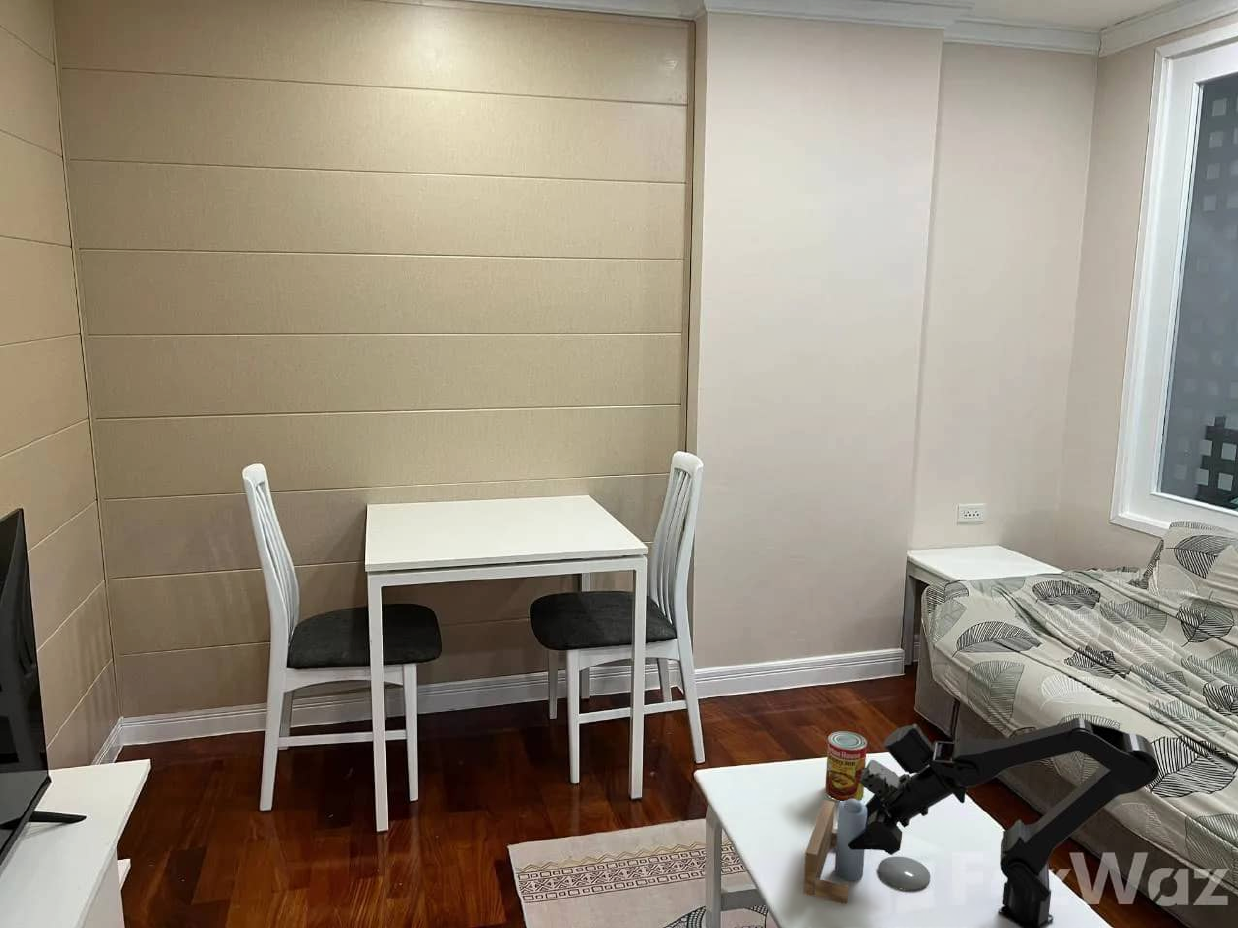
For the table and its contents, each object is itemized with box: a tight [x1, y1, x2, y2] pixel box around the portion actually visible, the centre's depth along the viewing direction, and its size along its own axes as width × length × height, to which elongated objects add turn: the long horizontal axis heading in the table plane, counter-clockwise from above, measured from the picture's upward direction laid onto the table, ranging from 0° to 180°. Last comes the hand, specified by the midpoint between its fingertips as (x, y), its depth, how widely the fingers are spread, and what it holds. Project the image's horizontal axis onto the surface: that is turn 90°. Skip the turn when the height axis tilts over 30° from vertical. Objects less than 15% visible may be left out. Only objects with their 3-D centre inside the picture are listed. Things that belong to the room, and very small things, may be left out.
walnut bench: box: [802, 799, 849, 905], centre depth 170 cm, size 8×18×8 cm, turn 158°
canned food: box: [824, 730, 868, 802], centre depth 195 cm, size 8×8×12 cm
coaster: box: [877, 856, 931, 891], centre depth 169 cm, size 9×9×1 cm
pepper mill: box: [834, 799, 867, 882], centre depth 168 cm, size 5×5×15 cm
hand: (853, 832), depth 168 cm, fingers open, 9 cm apart
